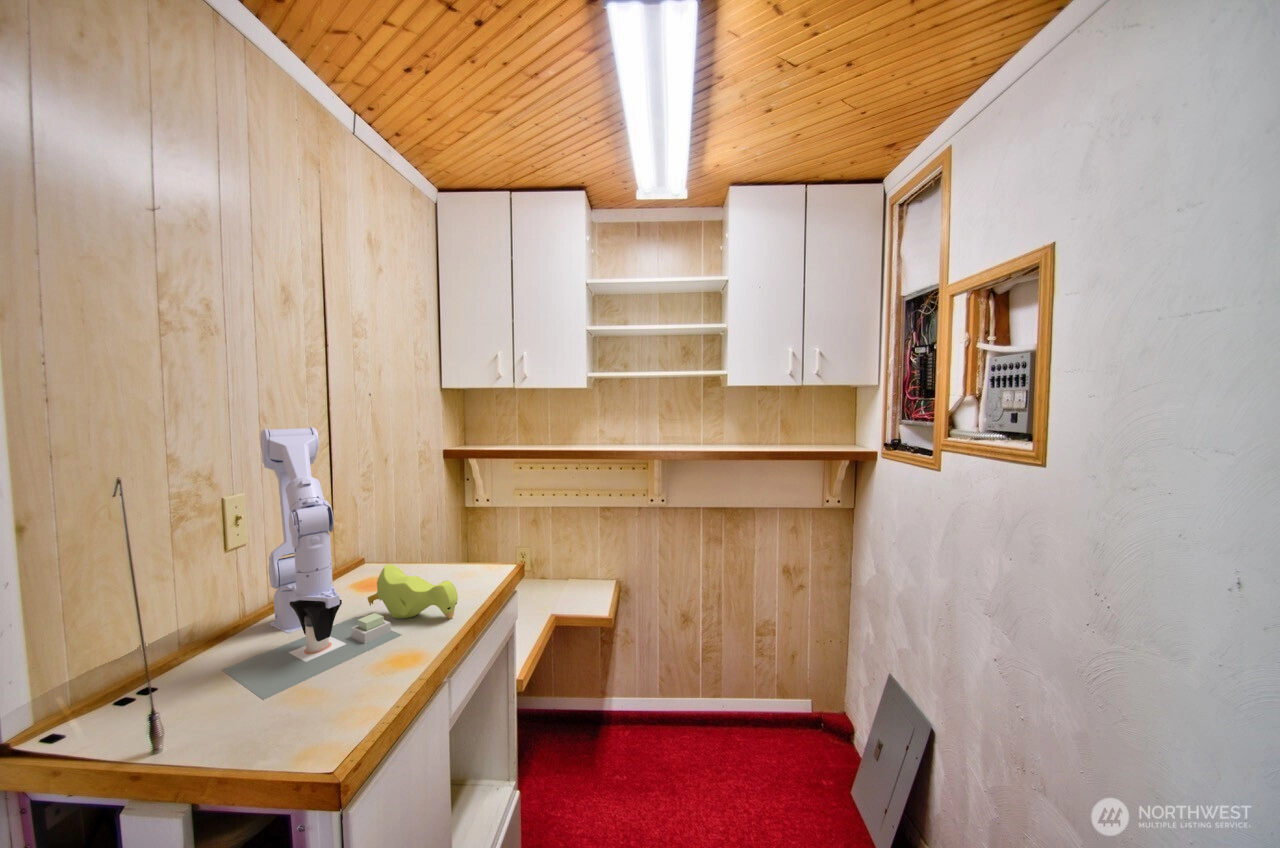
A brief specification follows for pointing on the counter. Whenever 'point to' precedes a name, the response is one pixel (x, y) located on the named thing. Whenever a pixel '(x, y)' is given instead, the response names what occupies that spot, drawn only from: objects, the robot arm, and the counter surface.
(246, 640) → the counter surface
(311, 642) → the jar with dark lid
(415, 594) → the toy
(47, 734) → the counter surface
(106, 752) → the counter surface
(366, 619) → the button
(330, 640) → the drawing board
